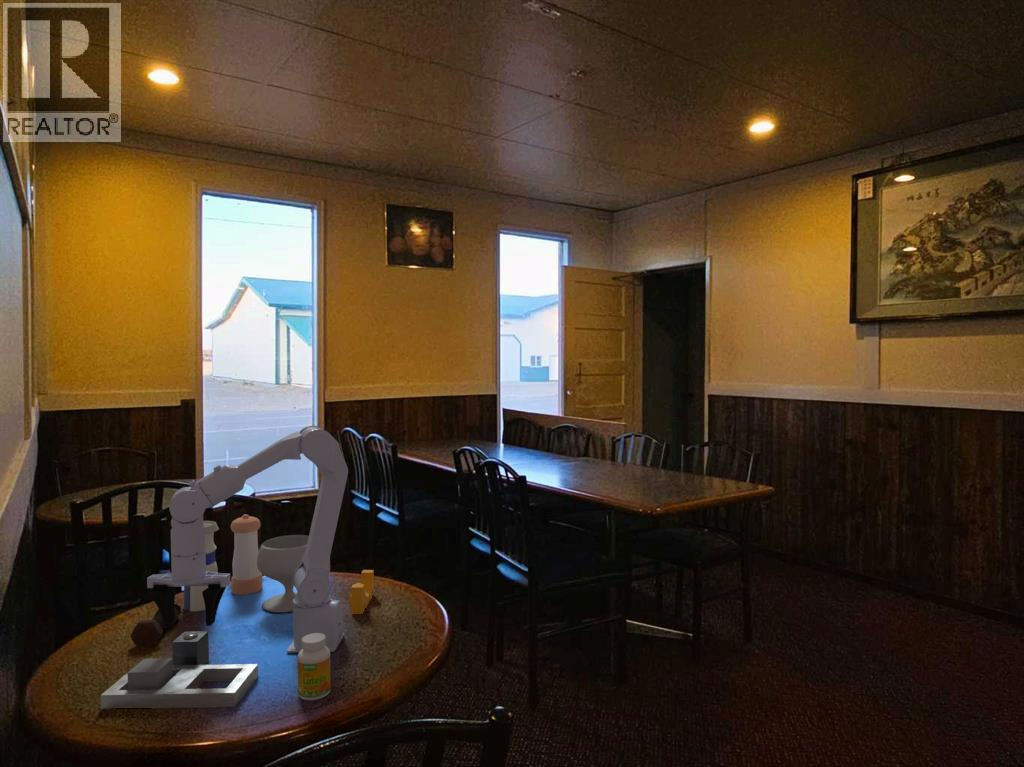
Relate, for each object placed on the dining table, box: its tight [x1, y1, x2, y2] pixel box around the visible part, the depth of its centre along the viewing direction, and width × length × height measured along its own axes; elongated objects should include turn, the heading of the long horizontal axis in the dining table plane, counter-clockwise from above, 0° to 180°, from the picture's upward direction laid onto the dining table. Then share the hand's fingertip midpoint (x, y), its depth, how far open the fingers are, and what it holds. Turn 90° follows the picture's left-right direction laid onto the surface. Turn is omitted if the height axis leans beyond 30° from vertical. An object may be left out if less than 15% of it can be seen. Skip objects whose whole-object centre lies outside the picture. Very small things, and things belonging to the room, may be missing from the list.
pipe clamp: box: [349, 569, 375, 614], centre depth 148 cm, size 12×4×6 cm, turn 0°
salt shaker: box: [230, 514, 263, 596], centre depth 158 cm, size 7×7×19 cm
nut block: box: [171, 630, 210, 665], centre depth 118 cm, size 4×4×6 cm
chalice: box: [257, 534, 309, 613], centre depth 149 cm, size 14×14×15 cm
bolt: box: [129, 603, 182, 648], centre depth 134 cm, size 6×5×15 cm
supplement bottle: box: [297, 633, 332, 701], centre depth 108 cm, size 5×5×10 cm
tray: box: [100, 663, 259, 710], centre depth 109 cm, size 22×10×2 cm, turn 91°
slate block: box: [127, 657, 173, 690], centre depth 109 cm, size 5×5×5 cm
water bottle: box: [182, 520, 221, 612], centre depth 148 cm, size 8×9×25 cm
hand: (190, 624), depth 117 cm, fingers open, 7 cm apart
